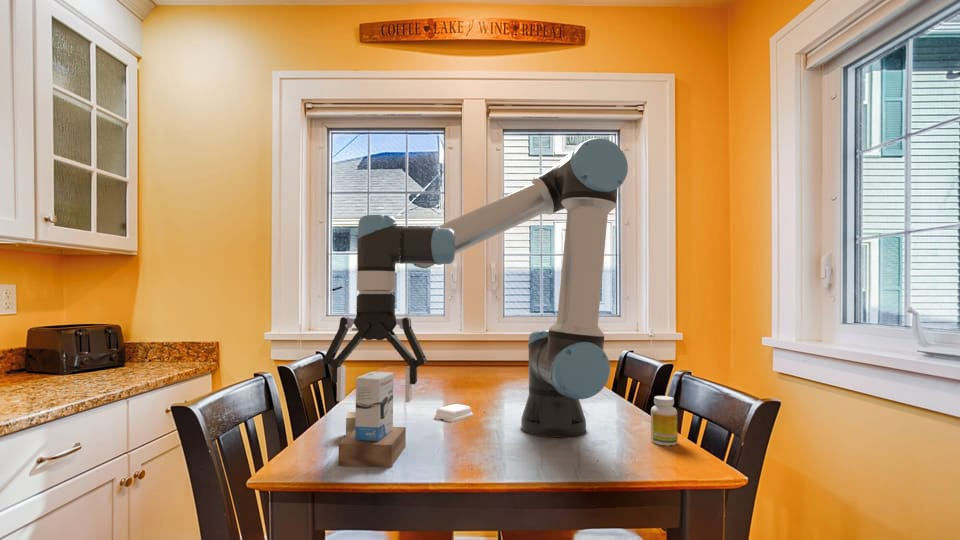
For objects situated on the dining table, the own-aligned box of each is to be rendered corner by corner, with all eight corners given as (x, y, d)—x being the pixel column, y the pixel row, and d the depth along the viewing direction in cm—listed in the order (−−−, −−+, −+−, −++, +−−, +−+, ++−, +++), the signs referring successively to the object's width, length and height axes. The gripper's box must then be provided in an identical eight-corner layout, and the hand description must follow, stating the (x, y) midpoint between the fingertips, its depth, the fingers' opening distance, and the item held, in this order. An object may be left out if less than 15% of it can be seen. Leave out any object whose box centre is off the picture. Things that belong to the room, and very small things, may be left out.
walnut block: (405, 446, 102) (405, 427, 102) (391, 466, 90) (391, 444, 90) (358, 445, 103) (358, 426, 103) (338, 465, 91) (338, 443, 91)
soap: (451, 423, 121) (452, 411, 121) (432, 419, 126) (432, 407, 126) (475, 416, 128) (475, 405, 128) (455, 412, 133) (455, 401, 133)
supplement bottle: (647, 438, 108) (646, 395, 109) (671, 438, 108) (670, 394, 109) (657, 446, 103) (656, 400, 103) (682, 446, 103) (681, 400, 103)
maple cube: (369, 433, 112) (369, 411, 112) (369, 440, 107) (369, 416, 107) (346, 434, 111) (347, 412, 111) (345, 441, 106) (346, 418, 106)
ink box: (378, 442, 92) (379, 378, 92) (353, 440, 93) (354, 378, 93) (394, 429, 100) (394, 371, 101) (371, 428, 101) (372, 371, 102)
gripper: (440, 293, 101) (439, 397, 100) (322, 292, 102) (320, 395, 101) (435, 293, 93) (434, 405, 92) (307, 292, 95) (305, 403, 94)
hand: (374, 400), depth 97 cm, fingers open, 13 cm apart
